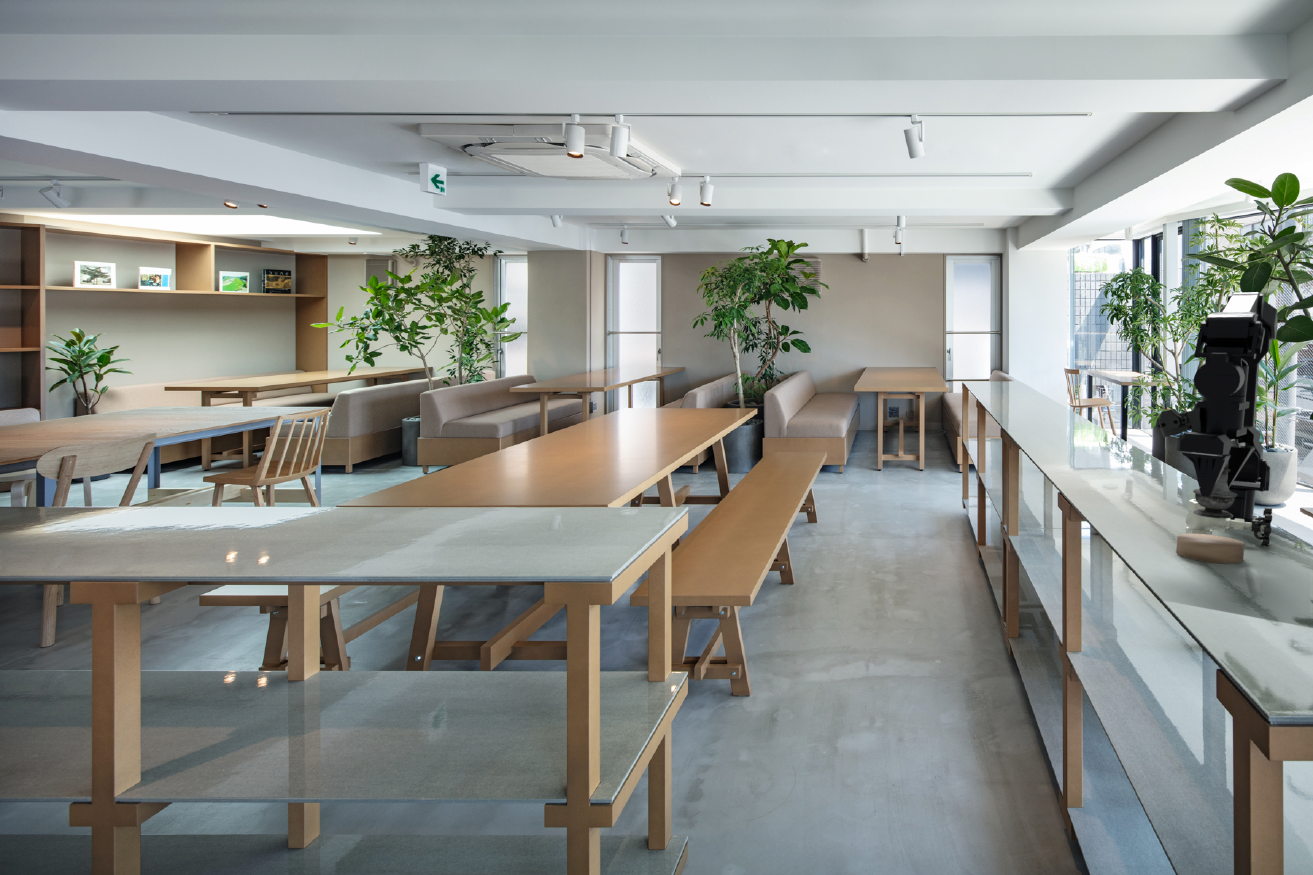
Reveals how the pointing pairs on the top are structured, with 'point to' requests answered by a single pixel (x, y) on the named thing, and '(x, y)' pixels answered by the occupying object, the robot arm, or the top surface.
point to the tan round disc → (1210, 548)
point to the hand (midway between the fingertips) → (1214, 492)
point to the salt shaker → (1216, 498)
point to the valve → (1228, 523)
